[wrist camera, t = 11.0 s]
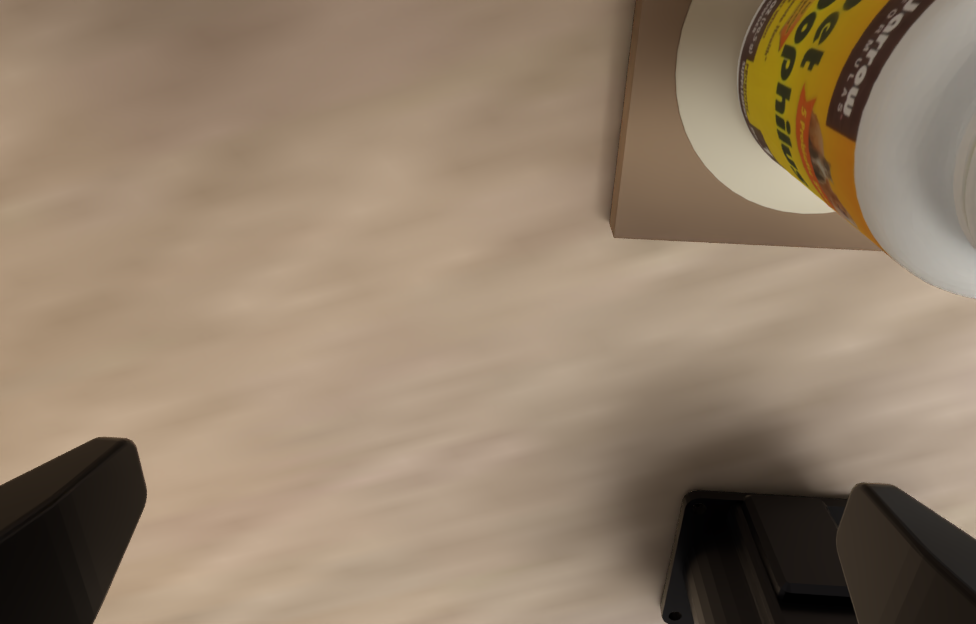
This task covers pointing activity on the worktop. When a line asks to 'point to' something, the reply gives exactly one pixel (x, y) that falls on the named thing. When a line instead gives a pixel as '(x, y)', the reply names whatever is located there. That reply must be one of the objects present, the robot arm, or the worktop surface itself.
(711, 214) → the walnut board
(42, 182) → the worktop surface
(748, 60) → the supplement bottle
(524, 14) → the worktop surface
